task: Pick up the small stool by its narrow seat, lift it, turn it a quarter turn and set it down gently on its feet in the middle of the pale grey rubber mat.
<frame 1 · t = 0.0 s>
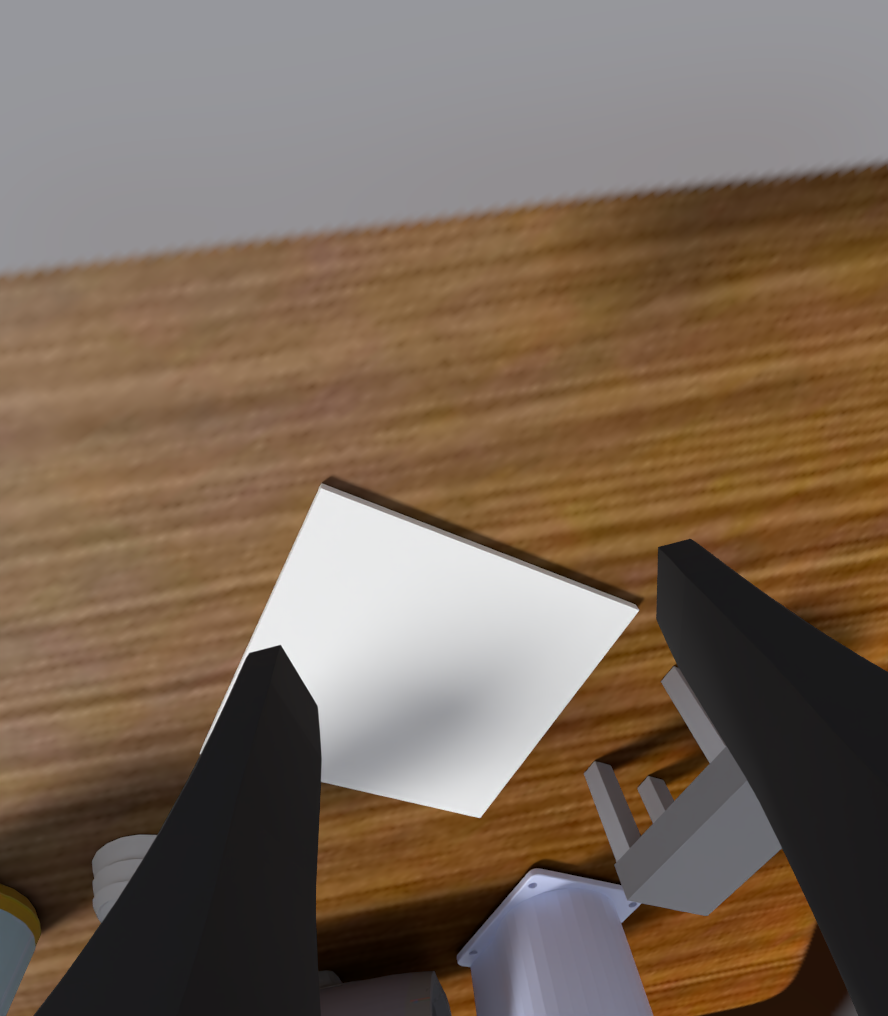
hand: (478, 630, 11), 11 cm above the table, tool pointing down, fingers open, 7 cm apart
mat: (414, 676, 26), on the table
chalice: (148, 862, 30), on the table
bluetooth speaker: (257, 993, 37), on the table
stool: (662, 733, 29), on the table
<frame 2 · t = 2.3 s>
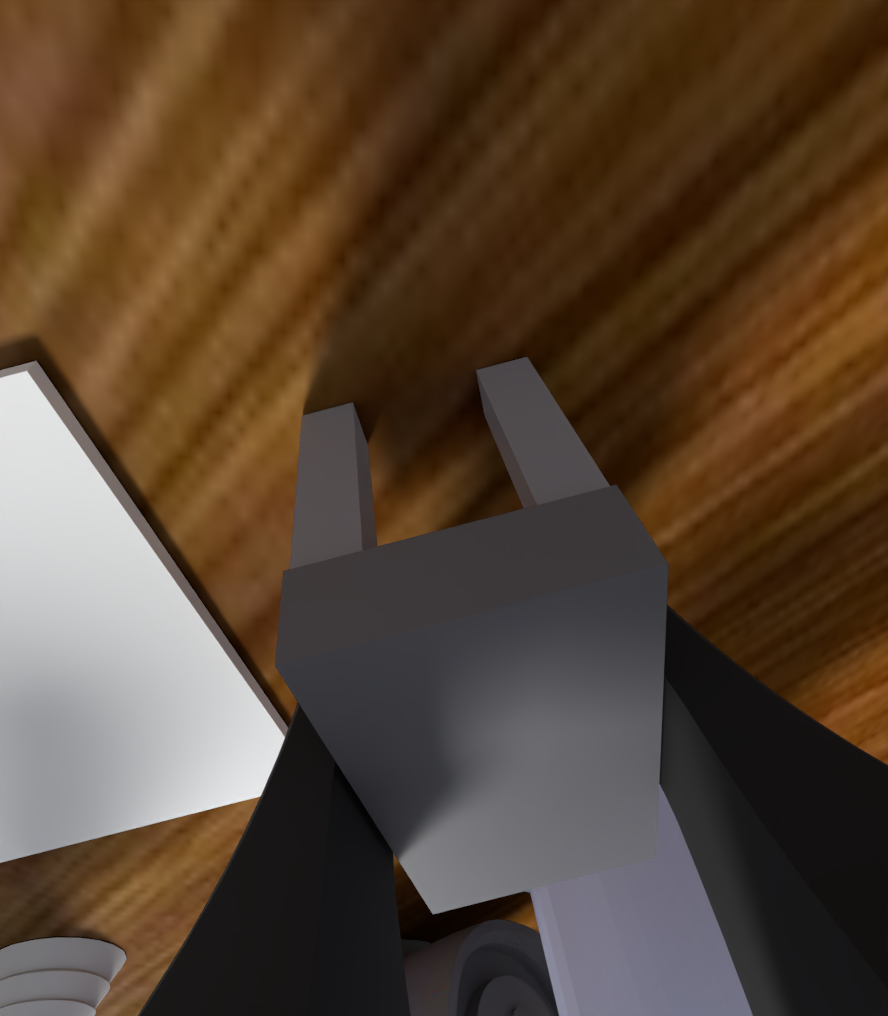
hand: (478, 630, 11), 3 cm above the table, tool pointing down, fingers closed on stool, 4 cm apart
chalice: (60, 956, 25), on the table
bluetooth speaker: (356, 972, 31), on the table
stool: (453, 533, 14), on the table, touching gripper
when the fingers open (4 cm above the table, at t = 5.8 s): stool stays where it is, resting on mat.
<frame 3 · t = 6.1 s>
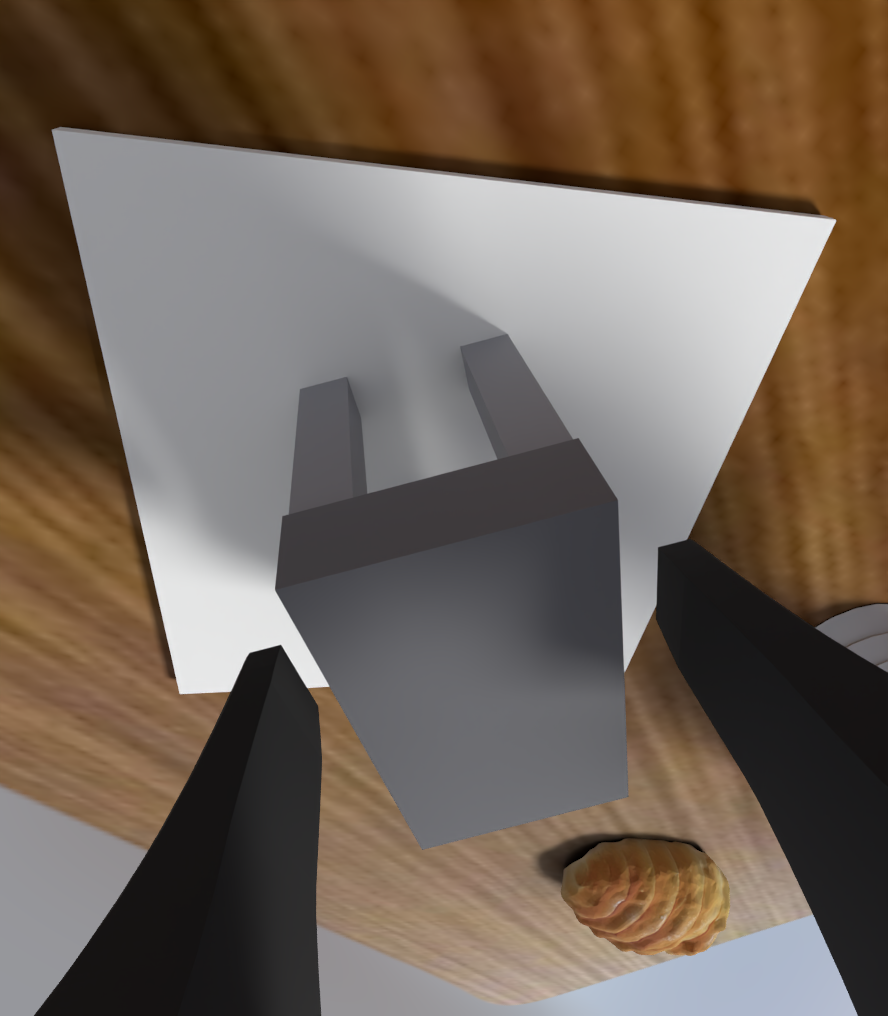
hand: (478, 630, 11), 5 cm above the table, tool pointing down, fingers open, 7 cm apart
mat: (443, 492, 15), on the table
chalice: (842, 647, 22), on the table
stool: (442, 503, 15), resting on mat
pastry: (631, 860, 32), on the table
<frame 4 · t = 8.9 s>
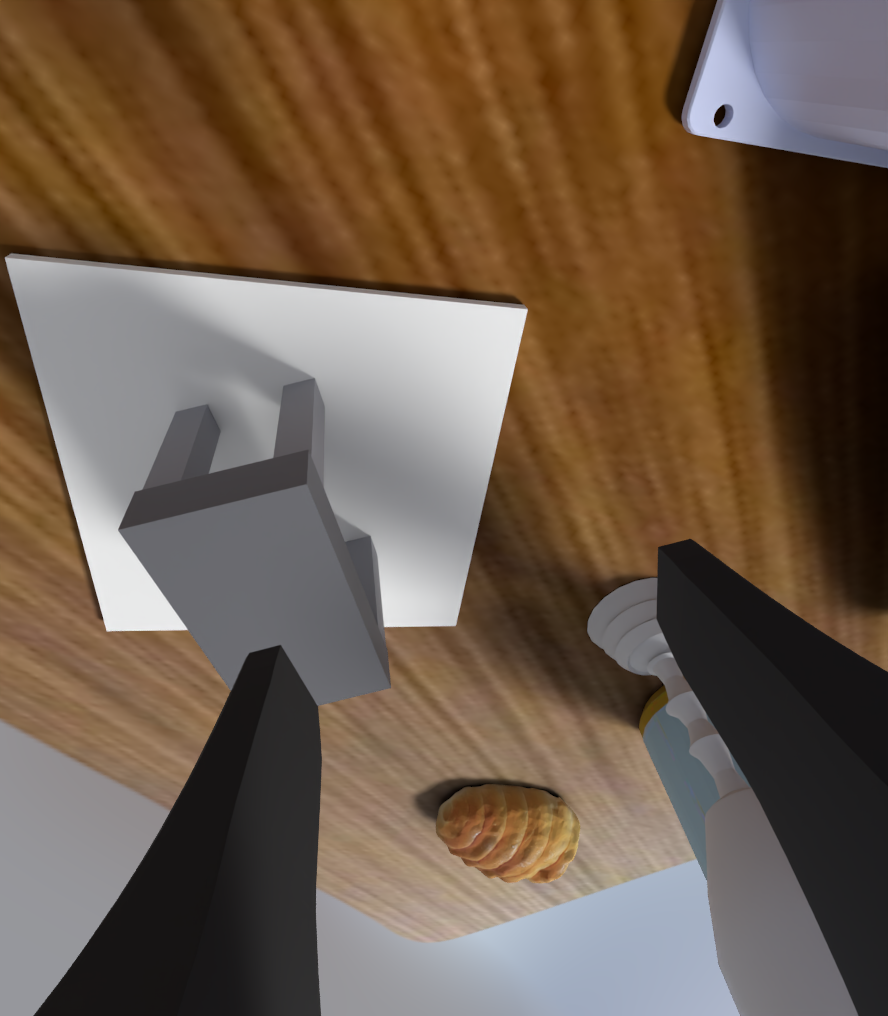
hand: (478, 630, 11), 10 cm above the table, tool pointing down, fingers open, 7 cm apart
mat: (290, 484, 21), on the table
bottle: (692, 698, 34), on the table
chalice: (637, 613, 29), on the table
stool: (287, 491, 21), resting on mat
pastry: (502, 806, 39), on the table
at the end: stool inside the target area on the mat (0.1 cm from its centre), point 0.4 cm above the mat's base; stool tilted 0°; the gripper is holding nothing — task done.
